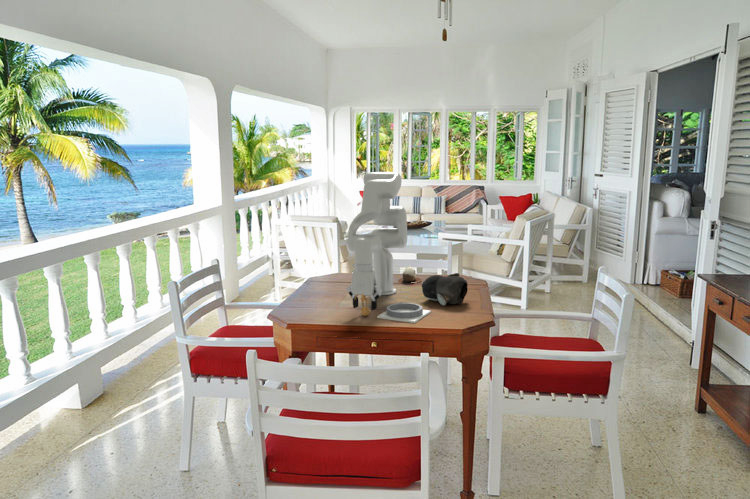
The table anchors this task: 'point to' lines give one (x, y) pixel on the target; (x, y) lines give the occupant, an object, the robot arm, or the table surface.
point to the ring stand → (404, 312)
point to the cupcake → (409, 276)
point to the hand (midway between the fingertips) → (364, 308)
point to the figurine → (365, 310)
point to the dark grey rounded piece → (445, 289)
